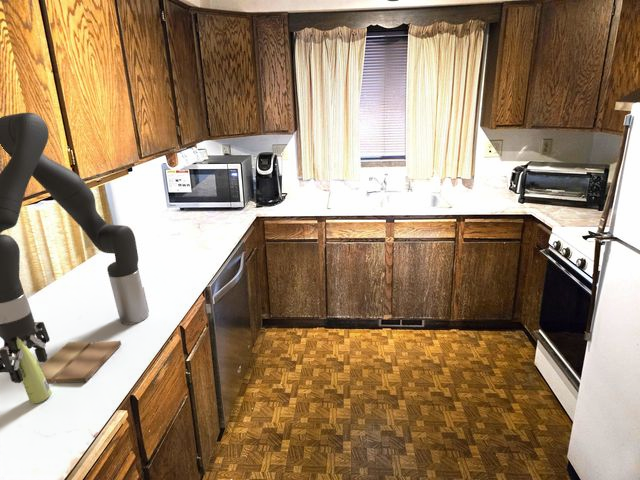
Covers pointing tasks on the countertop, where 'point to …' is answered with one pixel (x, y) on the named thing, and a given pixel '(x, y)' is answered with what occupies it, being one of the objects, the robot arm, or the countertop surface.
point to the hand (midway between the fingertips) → (31, 371)
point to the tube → (32, 376)
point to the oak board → (62, 359)
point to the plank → (88, 362)
